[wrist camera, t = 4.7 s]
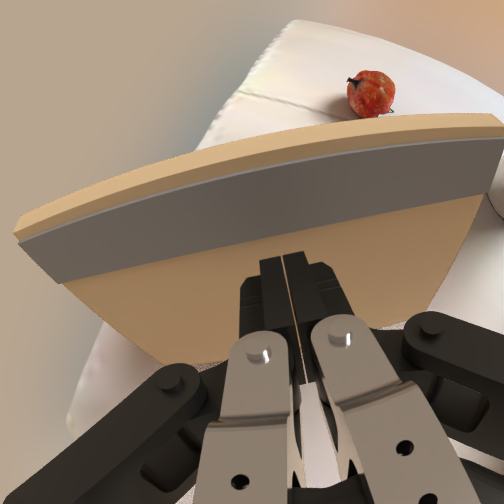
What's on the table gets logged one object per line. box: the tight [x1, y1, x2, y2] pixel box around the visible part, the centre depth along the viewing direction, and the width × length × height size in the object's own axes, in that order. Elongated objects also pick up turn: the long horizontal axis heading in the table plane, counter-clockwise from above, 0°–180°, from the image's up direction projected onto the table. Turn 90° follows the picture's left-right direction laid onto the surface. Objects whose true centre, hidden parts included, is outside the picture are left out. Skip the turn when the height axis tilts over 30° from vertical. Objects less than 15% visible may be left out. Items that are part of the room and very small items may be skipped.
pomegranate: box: [347, 70, 395, 119], centre depth 36 cm, size 7×7×10 cm
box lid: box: [13, 113, 504, 366], centre depth 15 cm, size 16×20×1 cm
